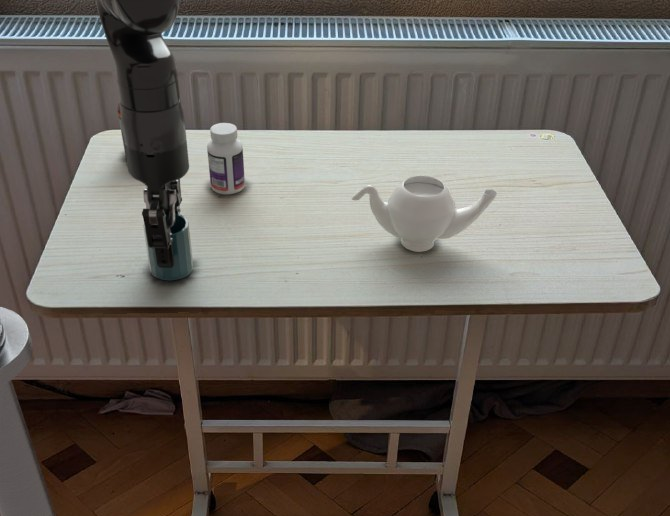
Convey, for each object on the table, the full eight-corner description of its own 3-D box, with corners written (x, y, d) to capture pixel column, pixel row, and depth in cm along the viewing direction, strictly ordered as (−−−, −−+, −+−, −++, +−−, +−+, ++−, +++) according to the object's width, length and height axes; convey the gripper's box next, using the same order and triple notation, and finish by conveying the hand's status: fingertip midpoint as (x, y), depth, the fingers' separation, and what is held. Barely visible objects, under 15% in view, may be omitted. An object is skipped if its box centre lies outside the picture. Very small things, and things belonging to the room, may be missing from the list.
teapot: (353, 219, 125) (356, 162, 119) (486, 232, 124) (496, 175, 117) (345, 254, 118) (347, 196, 112) (486, 268, 117) (496, 210, 110)
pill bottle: (239, 176, 134) (236, 118, 127) (249, 192, 130) (246, 133, 123) (206, 181, 132) (201, 123, 126) (215, 197, 129) (210, 138, 122)
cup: (167, 285, 111) (161, 241, 107) (141, 267, 114) (134, 223, 109) (201, 269, 114) (197, 224, 110) (176, 251, 117) (170, 207, 112)
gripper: (134, 109, 106) (150, 223, 118) (111, 163, 96) (132, 283, 107) (193, 110, 106) (203, 225, 118) (177, 165, 96) (190, 284, 107)
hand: (169, 252), depth 112 cm, fingers closed on cup, 5 cm apart
